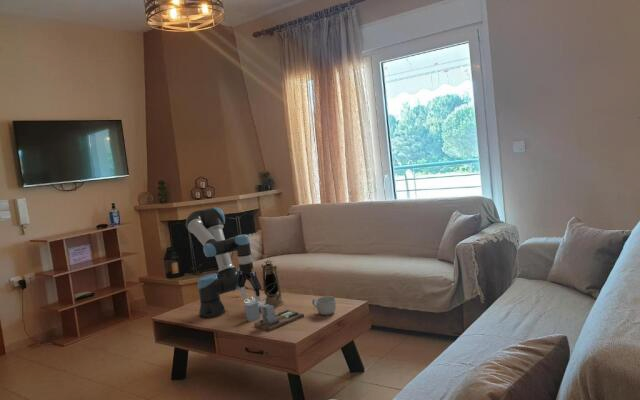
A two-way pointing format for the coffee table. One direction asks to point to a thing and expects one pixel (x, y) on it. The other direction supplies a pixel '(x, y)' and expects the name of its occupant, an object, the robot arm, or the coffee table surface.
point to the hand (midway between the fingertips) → (251, 300)
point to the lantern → (271, 285)
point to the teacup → (325, 305)
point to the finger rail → (276, 318)
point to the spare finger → (252, 311)
